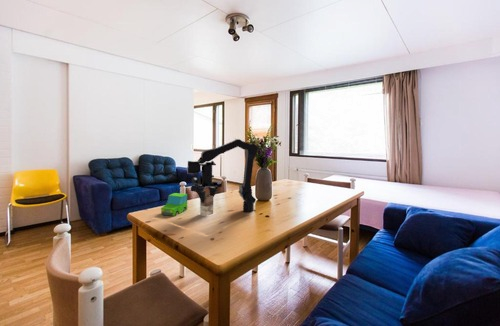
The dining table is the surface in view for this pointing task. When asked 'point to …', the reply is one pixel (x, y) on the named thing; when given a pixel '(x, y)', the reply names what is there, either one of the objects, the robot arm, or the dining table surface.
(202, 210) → the beech block
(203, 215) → the board
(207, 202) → the walnut block
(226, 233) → the dining table surface
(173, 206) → the toy car
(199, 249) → the dining table surface
